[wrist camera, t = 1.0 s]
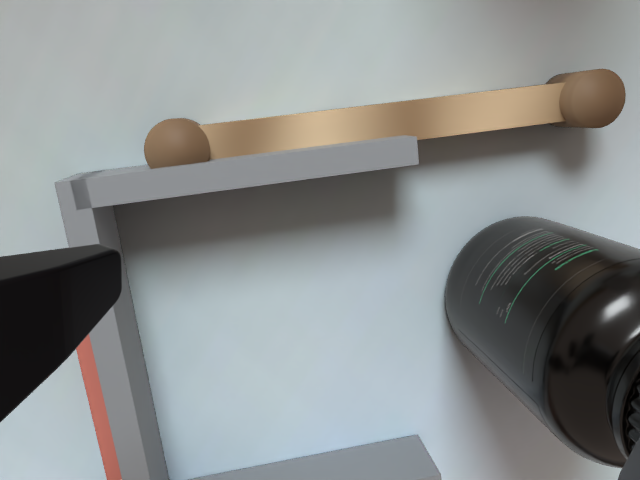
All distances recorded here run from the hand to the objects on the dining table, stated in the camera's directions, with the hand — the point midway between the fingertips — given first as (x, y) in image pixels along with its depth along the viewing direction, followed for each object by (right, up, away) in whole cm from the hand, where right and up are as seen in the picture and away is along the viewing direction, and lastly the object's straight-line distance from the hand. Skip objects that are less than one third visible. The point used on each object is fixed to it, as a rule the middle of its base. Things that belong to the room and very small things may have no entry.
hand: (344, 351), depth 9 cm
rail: (+2, +7, +13) cm, 15 cm away
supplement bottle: (+8, 0, +16) cm, 18 cm away
